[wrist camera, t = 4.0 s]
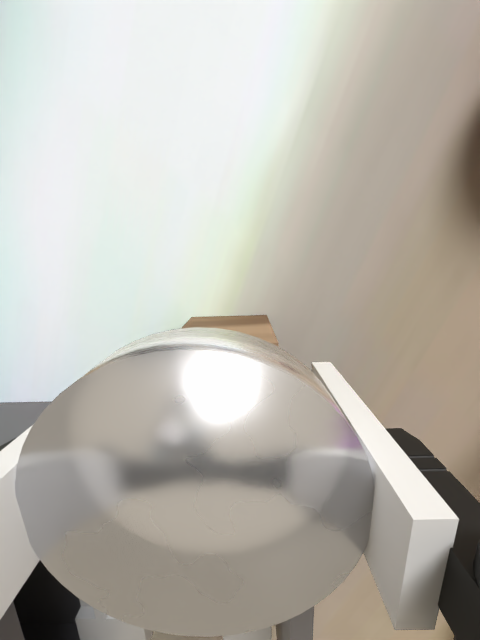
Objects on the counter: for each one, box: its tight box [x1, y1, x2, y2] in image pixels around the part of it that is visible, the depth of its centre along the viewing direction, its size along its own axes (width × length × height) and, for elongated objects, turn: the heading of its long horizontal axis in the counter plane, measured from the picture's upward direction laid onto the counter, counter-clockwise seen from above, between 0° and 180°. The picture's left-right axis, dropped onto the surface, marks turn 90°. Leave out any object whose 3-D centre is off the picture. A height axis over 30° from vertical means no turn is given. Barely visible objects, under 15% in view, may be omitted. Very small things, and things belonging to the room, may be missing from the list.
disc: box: [15, 327, 375, 637], centre depth 7 cm, size 8×8×2 cm
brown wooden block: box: [182, 315, 278, 346], centre depth 15 cm, size 5×5×6 cm
